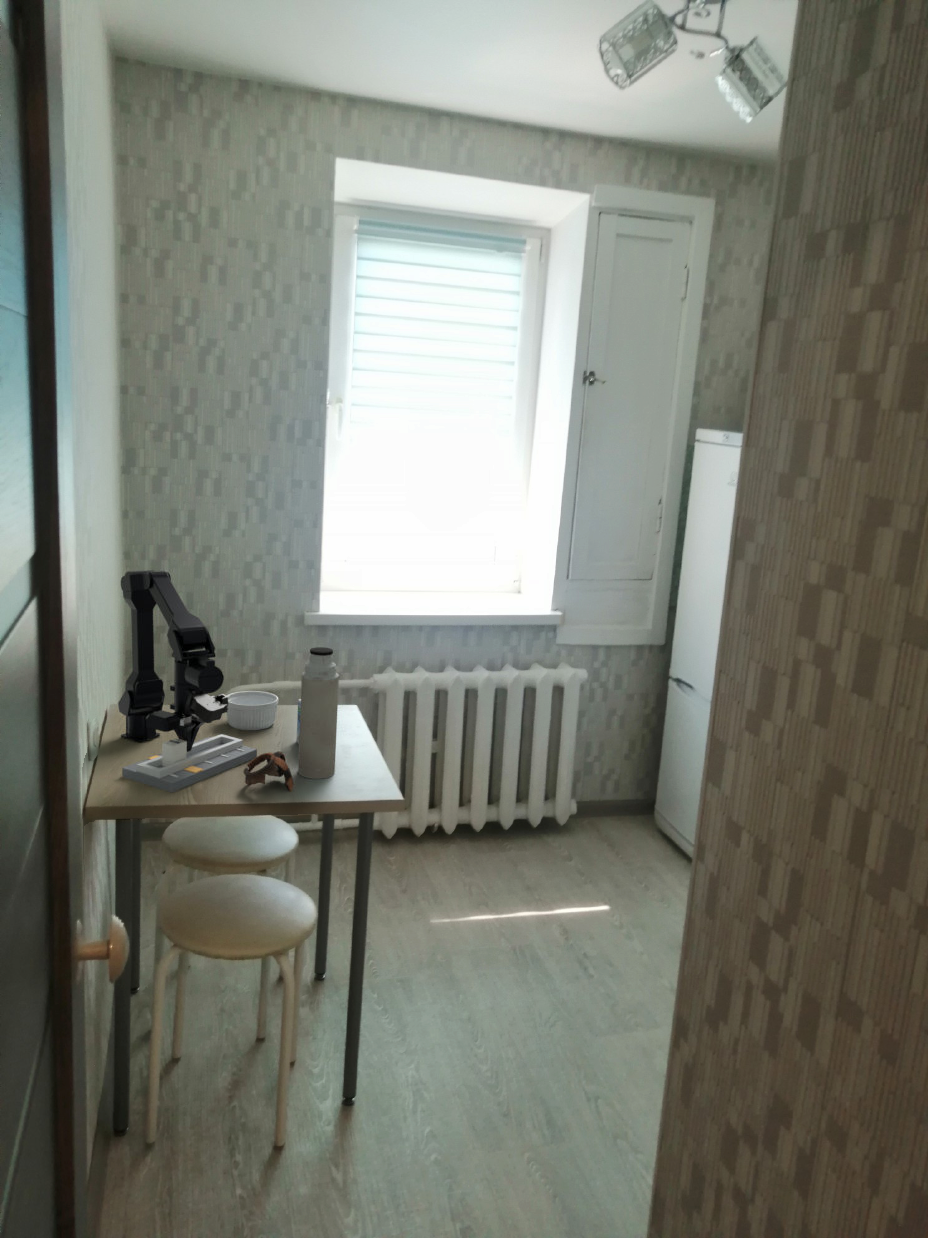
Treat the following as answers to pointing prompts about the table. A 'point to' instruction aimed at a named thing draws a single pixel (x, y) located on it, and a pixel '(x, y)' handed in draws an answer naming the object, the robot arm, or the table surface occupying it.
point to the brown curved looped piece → (269, 769)
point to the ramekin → (251, 710)
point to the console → (192, 764)
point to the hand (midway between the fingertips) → (187, 751)
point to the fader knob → (173, 751)
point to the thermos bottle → (318, 715)
